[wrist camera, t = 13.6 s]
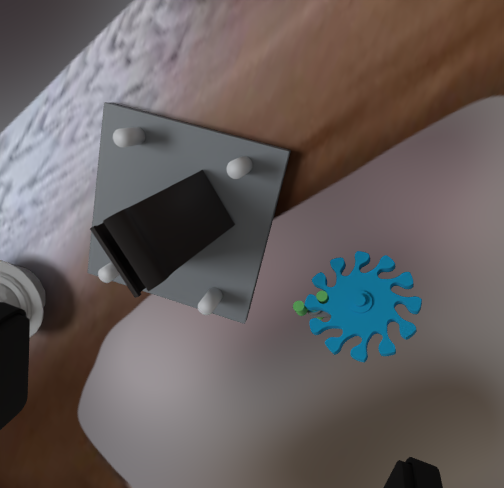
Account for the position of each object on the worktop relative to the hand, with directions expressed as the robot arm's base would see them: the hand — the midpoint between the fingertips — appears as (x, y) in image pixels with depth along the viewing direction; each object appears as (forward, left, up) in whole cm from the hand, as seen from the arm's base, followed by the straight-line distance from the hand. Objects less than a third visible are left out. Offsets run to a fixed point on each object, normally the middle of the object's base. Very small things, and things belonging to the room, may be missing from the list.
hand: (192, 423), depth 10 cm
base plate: (+11, +6, -31) cm, 33 cm away
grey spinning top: (+29, +21, -31) cm, 48 cm away
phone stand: (+11, +6, -30) cm, 32 cm away
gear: (-7, +8, -31) cm, 33 cm away
